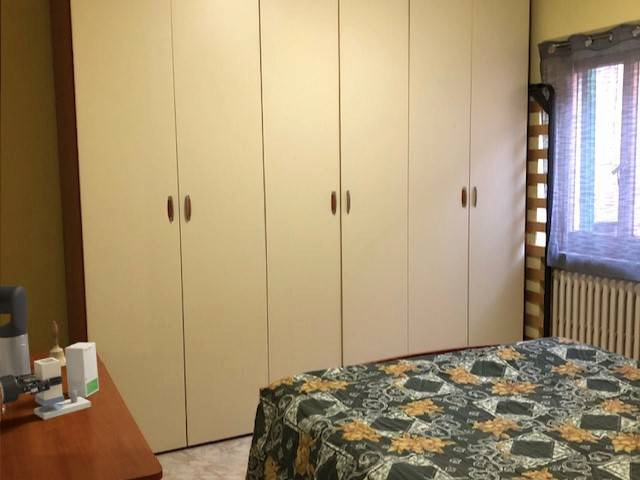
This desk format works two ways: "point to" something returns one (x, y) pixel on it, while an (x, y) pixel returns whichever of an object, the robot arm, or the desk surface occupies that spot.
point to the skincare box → (82, 369)
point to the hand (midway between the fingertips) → (56, 377)
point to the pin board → (63, 406)
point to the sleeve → (46, 371)
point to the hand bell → (56, 345)
